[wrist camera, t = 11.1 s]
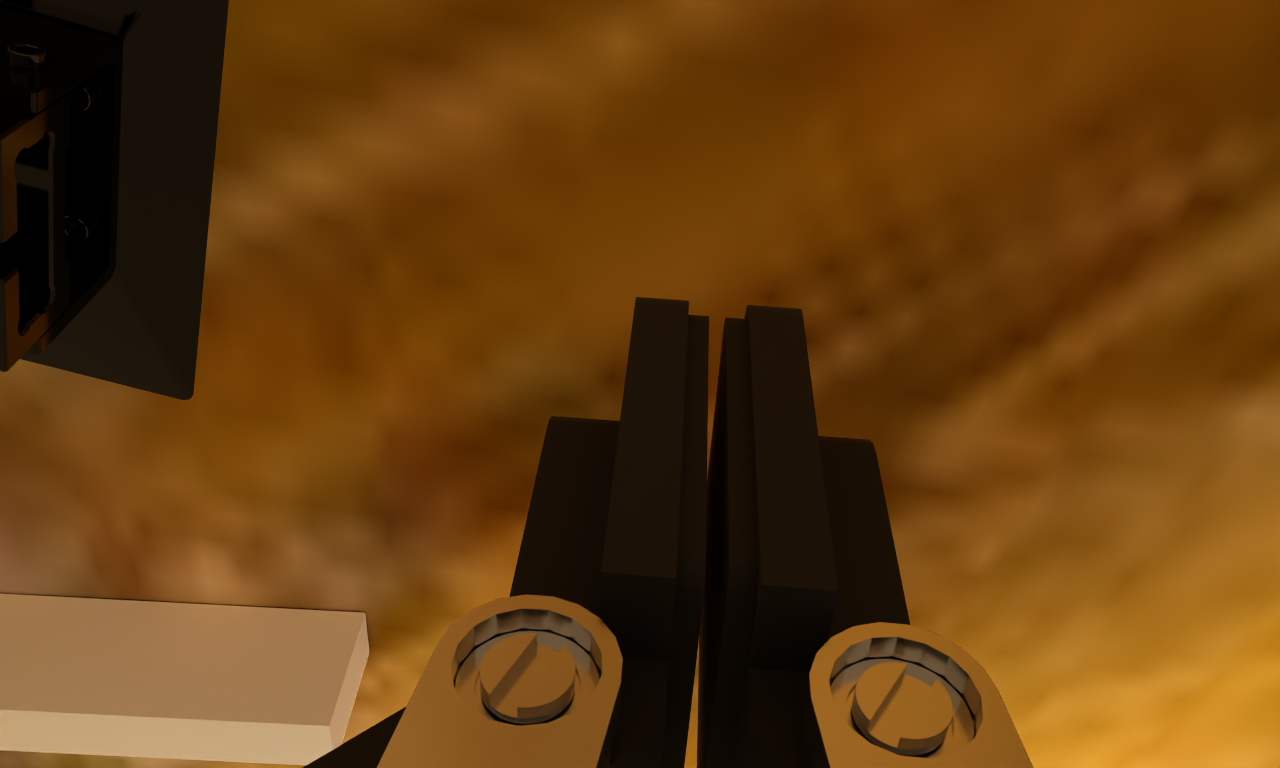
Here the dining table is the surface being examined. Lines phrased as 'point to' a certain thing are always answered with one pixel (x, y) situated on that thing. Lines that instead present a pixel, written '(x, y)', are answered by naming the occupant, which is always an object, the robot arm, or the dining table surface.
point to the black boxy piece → (107, 184)
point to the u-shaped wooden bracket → (177, 679)
